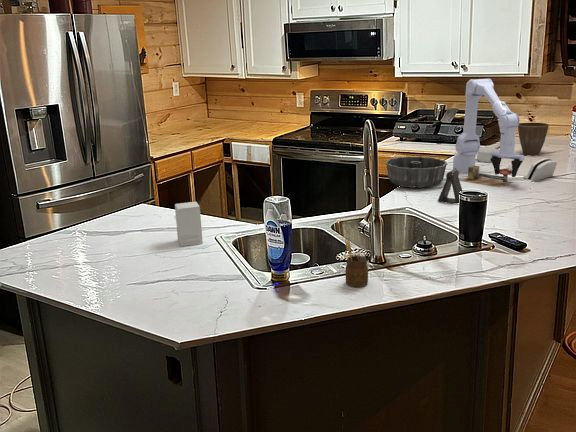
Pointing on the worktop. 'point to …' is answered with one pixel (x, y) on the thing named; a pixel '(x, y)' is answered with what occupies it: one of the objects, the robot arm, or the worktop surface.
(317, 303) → the worktop surface
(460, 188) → the phone stand
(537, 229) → the worktop surface
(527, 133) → the plant pot
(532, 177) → the grey rounded block
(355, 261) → the utensil holder
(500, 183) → the board
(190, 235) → the supplement box
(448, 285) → the worktop surface
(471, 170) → the wooden holder
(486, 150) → the saucepan
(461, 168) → the robot arm
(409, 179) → the bundt pan
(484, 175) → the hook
